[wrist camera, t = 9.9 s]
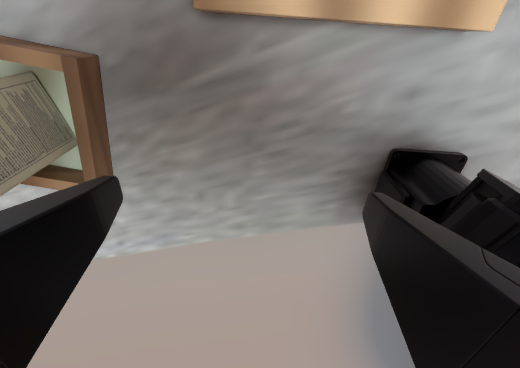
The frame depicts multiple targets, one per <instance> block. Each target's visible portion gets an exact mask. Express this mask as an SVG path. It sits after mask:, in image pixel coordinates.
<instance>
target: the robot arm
mask: <svg viewBox="0 0 520 368" xmlns="http://www.w3.org/2000/svg"><path fill="white" fill-rule="evenodd" d="M397 153H399V154H398V156H396V157H395V154H397ZM460 158H461V159H460ZM459 159H460V160H459ZM467 159H468V158H467V156H466V155H464V154H462V153H452V152H437V151H423V150H408V149H394V150H392V151H391V153H390V155H389V157H388V160H387V163H386V166H385V169H384V171H383V172H382V173H381V175H380V178H379V181H378V184H377V187H376V190H375V192H371V193H370V194H369V195H368V197H367V200H366V203H365V206H364V209H363V220H364V224H365V228H366V232H367V236H368V240H369V244H370V248H371V251H372V255H373V257H374V260H375V263H376V265H377V268H378V271H379V273H380V276H381V278H382V281H383V284H384V286H385V289H386V292H387V294H388V296H389V299H390V302H391V305H392V307H393V310H394V313H395V315H396V318H397V320H398V323H399V326H400V328H401V331H402V334H403V336H404V339H405V341H406V344H407V346H408V349H409V352H410V354H411V357H412V359H413V362H414V365H415V368H520V188H518V187H517V186H515V185H513V184H511V183H509V182H507V181H505V180H504V179H502V178H500V177H498V176H496V175H494V174H493V173H491V172H489V171H487V170H485V169H482V170H481V171H480V172H479V173H478V174H477V177H476V178H475V179H474V180H473V181H472V182H471V181H470V180H468V179H467V178H466V177H464V176H463V175H462V174H460V173H461V171H462V169H463V167H464V166H465V164H466V162H467ZM458 160H459V161H458ZM122 201H123V195H122V191H121V187H120V183H119V180H118V178H117V177H116V176H107V175H104V176H101V177H98V178H95V179H92V180H89V181H86V182H83V183H80V184H77V185H74V186H72V187H69V188H66V189H63V190H60V191H57V192H54V193H51V194H48V195H45V196H42V197H40V198H37V199H34V200H31V201H28V202H25V203H22V204H19V205H16V206H13V207H10V208H8V209H5V210H2V211H0V368H26V367H27V366H28V364H29V362H30V361H31V359H32V357H33V356H34V354H35V352H36V351H37V349H38V348H39V346H40V344H41V342H42V341H43V339H44V338H45V336H46V334H47V333H48V331H49V330H50V328H51V326H52V325H53V323H54V321H55V320H56V318H57V316H58V315H59V313H60V311H61V310H62V308H63V307H64V305H65V303H66V302H67V300H68V298H69V296H70V295H71V293H72V292H73V290H74V289H75V287H76V285H77V284H78V282H79V280H80V279H81V277H82V275H83V274H84V272H85V271H86V269H87V267H88V266H89V264H90V262H91V261H92V259H93V258H94V256H95V254H96V253H97V251H98V249H99V248H100V246H101V244H102V243H103V241H104V239H105V238H106V236H107V234H108V232H109V230H110V227H111V225H112V223H113V221H114V219H115V217H116V214H117V212H118V210H119V208H120V206H121V204H122Z"/></svg>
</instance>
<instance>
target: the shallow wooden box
mask: <svg viewBox="0 0 520 368" xmlns="http://www.w3.org/2000/svg"><path fill="white" fill-rule="evenodd" d="M506 1H507V0H193V7H194V9H197V10H200V11H206V12H219V13H232V14H245V15H258V16H271V17H284V18H297V19H311V20H324V21H337V22H350V23H363V24H376V25H389V26H402V27H416V28H429V29H442V30H455V31H493V30H494V28H495V25H496V23H497V21H498V19H499V17H500V15H501V12H502V10H503V8H504V6H505V4H506Z"/></svg>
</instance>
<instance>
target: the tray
mask: <svg viewBox="0 0 520 368" xmlns="http://www.w3.org/2000/svg"><path fill="white" fill-rule="evenodd" d="M29 71H30V72H32V73H33V74H34V75H35V77H36V78H37V80H38V81H39V83H40V84H41V86H42V87H43V89H44V90H45V91H46V93H47V95H48V96H49V97H50V99H51V100H52V102H53V103H54V105H55V107H56V108H57V110H58V111H59V113H60V114H61V116H62V117H63V119H64V120H65V122H66V123H67V125H68V126H69V128H70V130H71V131H72V133H73V134H74V136H75V138H76V139H77V144H78V145H77V146H76V147H74V148H73V149H71V150H70V151H68V152H67V153H65V154H64V155H62V156H61V157H59V158H58V159H56V160H55V161H53V162H52V163H50V164H49V165H47V166H46V167H44V168H43V169H41V170H39V171H38V172H36V173H35V174H33V175H32V176H30V177H29V178H27V179H26V180H25V181H23V182H22V183H20V184H26V185H32V186H38V187H44V188H51V189H57V190H63V189H66V188H69V187H72V186H74V185H77V184H80V183H83V182H86V181H89V180H92V179H95V178H98V177H101V176H104V175H107V176H113V171H112V163H111V155H110V147H109V139H108V131H107V124H106V116H105V108H104V100H103V92H102V84H101V76H100V68H99V60H98V56H97V55H92V54H88V53H83V52H78V51H73V50H68V49H63V48H58V47H53V46H48V45H43V44H38V43H33V42H28V41H23V40H18V39H14V38H9V37H4V36H0V77H4V76H9V75H14V74H19V73H24V72H29Z"/></svg>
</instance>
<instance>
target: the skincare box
mask: <svg viewBox="0 0 520 368" xmlns="http://www.w3.org/2000/svg"><path fill="white" fill-rule="evenodd" d="M77 145H78V144H77V139H76V138H75V136H74V134H73V133H72V131H71V130H70V128H69V126H68V125H67V123H66V122H65V120H64V119H63V117H62V116H61V114H60V113H59V111H58V110H57V108H56V107H55V105H54V103H53V102H52V100H51V99H50V97H49V96H48V95H47V93H46V91H45V90H44V89H43V87H42V86H41V84H40V83H39V81H38V80H37V78H36V77H35V75H34V74H33V73H32V72H30V71H29V72H24V73H19V74H14V75H9V76H4V77H0V196H2V195H3V194H5V193H6V192H8V191H9V190H11V189H12V188H14V187H15V186H17V185H18V184H20V183H22V182H23V181H25V180H26V179H27V178H29V177H30V176H32V175H33V174H35V173H36V172H38V171H39V170H41V169H43V168H44V167H46V166H47V165H49V164H50V163H52V162H53V161H55V160H56V159H58V158H59V157H61V156H62V155H64V154H65V153H67V152H68V151H70V150H71V149H73V148H74V147H76V146H77Z"/></svg>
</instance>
